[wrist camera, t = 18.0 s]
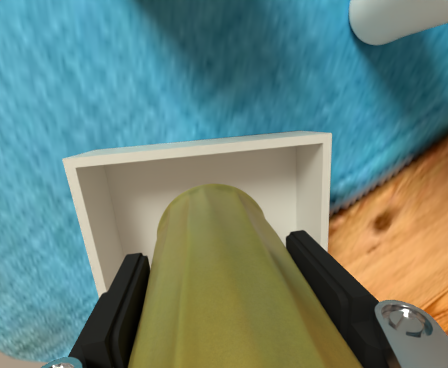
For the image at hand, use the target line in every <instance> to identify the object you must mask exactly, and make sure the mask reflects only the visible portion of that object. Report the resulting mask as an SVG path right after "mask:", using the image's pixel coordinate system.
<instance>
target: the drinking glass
mask: <svg viewBox="0 0 448 368" xmlns="http://www.w3.org/2000/svg"><path fill="white" fill-rule="evenodd" d="M349 20H350V24H351V27H352V30H353V32H354V33H355V35H356V36H357V37H358V38H359V39H360V40H361V41H363V42H365V43H367V44H370V45H383V44H387V43H390V42H392V41H395V40H397V39H400V38H402V37H405V36H408V35H411V34H414V33H417V32H420V31H424V30H427V29H430V28H433V27H437V26H440V25H443V24H446V23H448V0H350V5H349Z"/></svg>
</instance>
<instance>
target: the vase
mask: <svg viewBox="0 0 448 368" xmlns="http://www.w3.org/2000/svg"><path fill="white" fill-rule="evenodd" d="M128 368H363V367H362V365H361V364H360V362H359V361H358V359H357V358H356V356H355V355H354V353H353V352H352V350H351V349H350V347H349V346H348V344H347V343H346V342H345V340H344V339H343V337H342V336H341V334H340V333H339V331H338V330H337V328H336V326H335V325H334V324H333V322H332V321H331V319H330V318H329V316H328V314H327V313H326V311H325V309H324V308H323V306H322V305H321V303H320V301H319V300H318V298H317V297H316V295H315V293H314V292H313V290H312V289H311V287H310V285H309V284H308V282H307V281H306V279H305V278H304V276H303V275H302V273H301V272H300V270H299V269H298V267H297V265H296V264H295V262H294V260H293V259H292V257H291V255H290V254H289V252H288V250H287V249H286V247H285V245H284V244H283V242H282V241H281V239H280V238H279V236H278V235H277V233H276V232H275V230H274V229H273V228H272V227H271V225H270V224H269V223H268V222H267V220H266V219H265V216H264V213H263V211H262V209H261V208H260V206H259V205H258V204H257V202H256V201H255V200H254V199H253V198H252V197H251V196H249V195H248V194H247V193H245V192H244V191H242V190H240V189H238V188H236V187H233V186H230V185H225V184H204V185H199V186H196V187H193V188H191V189H189V190H187V191H185V192H183V193H181V194H180V195H178V196H177V197H176V198H175V199H174V200H173V201H172V202H171V203H170V204H169V205H168V206H167V208H166V209H165V211H164V213H163V214H162V216H161V219H160V221H159V224H158V228H157V240H156V244H155V248H154V254H153V259H152V264H151V270H150V275H149V281H148V286H147V291H146V296H145V300H144V304H143V309H142V313H141V316H140V320H139V324H138V328H137V332H136V336H135V340H134V344H133V348H132V352H131V357H130V361H129V365H128Z"/></svg>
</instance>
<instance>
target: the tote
mask: <svg viewBox="0 0 448 368" xmlns="http://www.w3.org/2000/svg"><path fill="white" fill-rule="evenodd" d="M331 145H332V133H324V132H310V131H291V132H281V133H270V134H259V135H249V136H238V137H227V138H217V139H206V140H195V141H184V142H174V143H163V144H152V145H142V146H131V147H120V148H110V149H99V150H93V151H89V152H86V153H82V154H79V155H75V156H71V157H68V158H64V159H62V160H63V163H64V167H65V171H66V175H67V179H68V182H69V186H70V190H71V194H72V197H73V201H74V205H75V209H76V212H77V216H78V220H79V224H80V227H81V231H82V235H83V239H84V243H85V246H86V250H87V254H88V258H89V261H90V265H91V269H92V273H93V276H94V280H95V284H96V288H97V291H98V295H99V298H100V296H101V295H102V293H104V292H108V290H109V288H110V286H111V284H112V282H113V280H114V278H115V276H116V274H117V272H118V270H119V268H120V266H121V264H122V262H123V260H124V258H125V256H126V255H127V254H134V253H142V254H143V256H146V255H147V256H148V260H149V265H150V270H151V264H152V259H153V254H154V248H155V244H156V240H157V228H158V224H159V221H160V219H161V216H162V214H163V213H164V211H165V209H166V208H167V206H168V205H169V204H170V203H171V202H172V201H173V200H174V199H175V198H176V197H177V196H178V195H180V194H181V193H183V192H185V191H187V190H189V189H191V188H193V187H196V186H199V185H204V184H225V185H230V186H233V187H236V188H238V189H240V190H242V191H244V192H245V193H247V194H248V195H249V196H251V197H252V198H253V199H254V200H255V201H256V202H257V204H258V205H259V206H260V208H261V209H262V211H263V213H264V216H265V219H266V220H267V222H268V223H269V224H270V225H271V227H272V228H273V229H274V230H275V232H276V233H277V235H278V236H279V238H280V239H281V241H282V242H283V244H284V245H285V247H286V236H288V235H289V234H290V232H292V231H299V230H305V231H306V232H307V233H308V234H309V235H310V236H311V237H312V238H313V239H314V240H315V241H316V242H317V243H318V244H319V245H320V246H321V247H323V248H324V249H325V250H326V251H327V252H328V227H329V199H330V172H331Z"/></svg>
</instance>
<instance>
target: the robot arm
mask: <svg viewBox="0 0 448 368" xmlns="http://www.w3.org/2000/svg"><path fill="white" fill-rule="evenodd" d="M286 249H287V250H288V252H289V254H290V255H291V257H292V259H293V260H294V262H295V264H296V265H297V267H298V269H299V270H300V272H301V273H302V275H303V276H304V278H305V279H306V281H307V282H308V284H309V285H310V287H311V289H312V290H313V292H314V293H315V295H316V297H317V298H318V300H319V301H320V303H321V305H322V306H323V308H324V309H325V311H326V313H327V314H328V316H329V318H330V319H331V321H332V322H333V324H334V325H335V326H336V328H337V330H338V331H339V333H340V334H341V336H342V337H343V339H344V340H345V342H346V343H347V344H348V346H349V347H350V349H351V350H352V352H353V353H354V355H355V356H356V358H357V359H358V361H359V362H360V364H361V365H362V367H363V368H448V336H447V335H446V334H445V332H444V331H443V330H442V328H441V327H440V326H439V325H438V323H437V322H436V321H435V320H434V319H433V318H432V317H431V316H430V315H429V314H427V313H426V312H424V311H423V310H422V309H420V308H418V307H416V306H414V305H411V304H408V303H405V302H402V301H396V300H385V301H382V302H379V301H378V300H377V299H376V298H375V297H374V296H373V295H371V294H370V293H369V292H368V291H367V290H366V289H365V288H364V287H363V286H362V285H361V284H360V283H359V282H358V281H357V280H356V279H355V278H354V277H353V276H352V275H351V274H350V273H349V272H348V271H346V270H345V269H344V268H343V267H342V266H341V265H340V264H339V263H338V262H337V261H336V260H335V259H334V258H333V257H332V256H331V255H330V254H329V253H328V252H327V251H326V250H325V249H324V248H323V247H321V246H320V245H319V244H318V243H317V242H316V241H315V240H314V239H313V238H312V237H311V236H310V235H309V234H308V233H307V232H306V231H305V230H299V231H292V232H290V234H289V235H288V236H286ZM149 275H150V265H149V260H148V256H147V255H146V256H143V254H142V253H134V254H127V255H126V256H125V258H124V260H123V262H122V264H121V266H120V268H119V270H118V272H117V274H116V276H115V278H114V280H113V282H112V284H111V286H110V288H109V290H108V292H104V293H102V295H101V296H100V298H99V300H98V302H97V303H96V305H95V307H94V309H93V311H92V313H91V315H90V317H89V318H88V320H87V322H86V324H85V326H84V328H83V330H82V331H81V333H80V335H79V337H78V339H77V341H76V343H75V345H74V346H73V348H72V350H71V352H70V354H69V356H68V357H63V358H60V359H57V360H54V361H52V362H50V363H48V364H46V365H44V366H42V367H41V368H128V365H129V361H130V357H131V352H132V348H133V344H134V340H135V336H136V332H137V328H138V324H139V320H140V316H141V313H142V309H143V304H144V300H145V296H146V291H147V286H148V281H149Z"/></svg>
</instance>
